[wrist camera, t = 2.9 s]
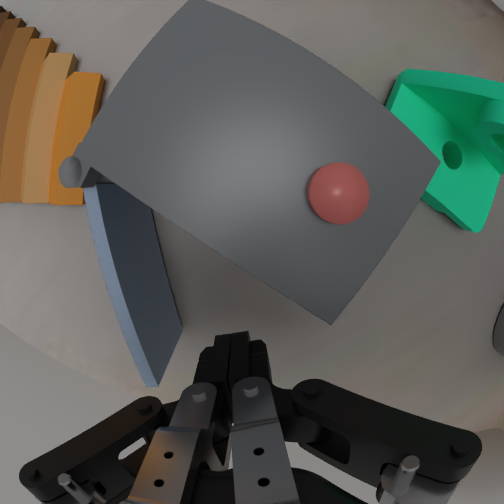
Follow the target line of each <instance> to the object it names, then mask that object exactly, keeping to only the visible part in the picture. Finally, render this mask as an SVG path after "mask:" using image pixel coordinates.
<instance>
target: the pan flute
mask: <svg viewBox="0 0 504 504" xmlns="http://www.w3.org/2000/svg"><path fill="white" fill-rule="evenodd" d="M14 18H15V16H14V15H13V14H12V13H11V11H9V12H6V10H5V9H4V8H3V7H2V6H0V203H3V202H22V203H24V204H28V203H50V204H53V205H83V204H86V203H85V197H84V192H83V189H84V188H80V187H78V188H66V187H64V186H63V185H62V184H61V182H60V180H59V168H60V165H61V163H62V162H63V160H64V159H66V158H67V157H70V156H72V155H73V153H74V151H75V149H76V147H77V146H78V144H79V143H81V142H82V141H83V139H84V137H85V135H86V133H87V132H88V130H89V128H90V126H91V125H92V123H93V121H94V119H95V118H96V116H97V114H98V109H99V104H100V99H101V94H102V90H103V85H104V81H105V80H104V78H103V76H102V74H100V73H88V72H75V68H76V65H77V61H78V60H77V58H76V57H75V55H74V53H54V51H55V48H56V44H55V42H54V41H53V39H52V38H38V36H39V32H38V30H37V29H36V28H35V27H25V25H26V23H25V22H24V21H23V20H22V18H17V19H14Z"/></svg>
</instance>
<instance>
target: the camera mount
mask: <svg viewBox="0 0 504 504" xmlns="http://www.w3.org/2000/svg"><path fill="white" fill-rule="evenodd" d="M385 107H386V108H387V109H388V110H389V111H390V112H392V113H393V114H394V115H395V116H396V117H397V118H398V119H399V120H400V121H402V122H403V123H404V124H405V125H406V126H407V127H408V128H409V129H410V130H411V131H412V132H413V133H414V134H415V135H416V136H417V137H418V138H419V139H420V140H421V141H422V142H423V143H424V144H425V145H426V146H427V147H428V148H429V149H430V150H431V151H432V152H433V153H434V154H435V156H436V157H437V158H438V159H439V160H440V161H441V163H440V165H439V167H438V168H437V170H436V172H435V174H434V176H433V178H432V179H431V181H430V183H429V185H428V186H427V188H426V190H425V192H424V193H423V195H422V197H421V199H422V200H424V201H425V202H426V203H428V204H429V205H430V206H431V207H433V208H434V209H435V210H436V211H438V212H444V213H445V214H446V215H447V216H448V217H450V218H451V219H452V220H453V221H454V222H455V223H457V224H458V225H459V226H460V227H461V228H462V229H465V230H468V231H472V232H475V233H478V232H480V231H481V230H482V229H483V227H484V225H485V222H486V219H487V216H488V214H489V211H490V208H491V205H492V202H493V199H494V196H495V193H496V190H497V186H498V183H499V179H500V176H501V174H502V173H504V83H501V82H496V81H492V80H487V79H483V78H478V77H472V76H466V75H460V74H454V73H446V72H438V71H428V70H417V69H406V70H405V71H403V72H402V73H400V74H399V75H398V77H397V79H396V82H395V84H394V86H393V89H392V91H391V94H390V96H389V98H388V101H387V103H386V106H385ZM442 151H443V154H444V160H443V156H442Z"/></svg>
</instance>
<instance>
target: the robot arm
mask: <svg viewBox="0 0 504 504" xmlns="http://www.w3.org/2000/svg"><path fill="white" fill-rule="evenodd" d="M493 343H494V347H495V349H496V350H497V351H498V352H499V353H500V354H502V355H503V356H504V306H503V308H502V310H501V312H500V314H499V317H498V320H497V323H496V326H495V330H494V337H493ZM232 423H234V426H232ZM142 437H143V438H144V440H145V441H146V444H145V445H143V446H142V447H140V448H139V449H137V450H136V451H134V452H133V453H131V454H130V455H128V456H127V457H126V458H124V459H121V460H119V459H118V456H119V453H120V452H121V451H122V450H124V449H125V448H127V447H128V446H130V445H131V444H133V443H134V442H135V441H137V440H139V439H140V438H142ZM284 441H287V442H298V444H299V445H300V447H302V448H303V449H304V450H306V451H308V452H309V453H311V454H313V455H315V456H316V457H318V458H320V459H322V460H323V461H325V462H327V463H328V464H330V465H332V466H334V467H336V468H338V469H340V470H342V471H343V472H345V473H347V474H349V475H351V476H353V477H355V478H357V479H359V480H361V481H363V482H365V483H368V484H369V485H372V486H374V487H376V488H377V490H376V499H377V501H378V502H379V504H447V502H448V500H449V499H450V497H451V495H452V494H453V492H454V491H455V490H456V488H457V487H458V486H459V485H460V483H461V482H462V481H463V479H464V478H465V477H466V475H467V474H468V472H469V471H470V470H471V468H472V467H473V465H474V464H475V462H476V461H477V459H478V458H479V456H480V454H481V451H482V443H481V440H480V439H479V437H478V436H477V435H476V434H475V433H473V432H471V431H468V430H464V429H460V428H456V427H453V426H449V425H446V424H442V423H439V422H435V421H432V420H429V419H426V418H423V417H419V416H416V415H413V414H410V413H407V412H404V411H401V410H398V409H396V408H393V407H390V406H387V405H384V404H382V403H379V402H376V401H374V400H371V399H368V398H366V397H363V396H361V395H358V394H355V393H353V392H350V391H348V390H345V389H343V388H341V387H338V386H336V385H333V384H331V383H329V382H326V381H324V380H320V379H308V380H305V381H302V382H300V383H298V384H297V385H296V386H295V387H294V388H293V390H291V389H282V388H279V387H276V386H275V385H273V384H272V376H271V369H270V363H269V358H268V353H267V347H266V344H265V343H264V342H263V341H262V340H261V339H260V340H254V341H250V336H249V332H248V331H244V332H237V333H232V334H224V335H216V336H215V341H214V346H212V347H206V348H205V349H204V350H203V351H202V352H201V353H200V357H199V362H198V365H197V369H196V373H195V377H194V381H193V385H190V386H189V387H187V388H186V389H185V390H184V391H183V392H182V394H181V397H180V399H179V400H178V401H175V402H171V403H167V404H163V405H162V403H161V401H160V400H159V399H158V398H156V397H152V396H146V397H142V398H139V399H137V400H135V401H134V402H132V403H130V404H129V405H127V406H126V407H124V408H122V409H121V410H119V411H118V412H116V413H114V414H113V415H111V416H110V417H108V418H106V419H105V420H103V421H101V422H100V423H98V424H96V425H95V426H93V427H91V428H90V429H88V430H86V431H85V432H83V433H81V434H80V435H78V436H76V437H74V438H72V439H71V440H69V441H67V442H66V443H64V444H62V445H60V446H58V447H57V448H55V449H53V450H51V451H49V452H47V453H45V454H43V455H42V456H40V457H38V458H36V459H34V460H32V461H30V462H28V463H27V464H25V465H24V466H23V467H22V469H21V470H20V473H19V479H20V482H21V483H22V484H23V486H25V487H26V488H27V489H28V490H29V491H30V492H31V493H32V494H33V495H34V496H35V497H36V498H37V499H38V500H39V501H40V502H41V503H42V504H368V503H366V502H364V501H362V500H360V499H358V498H357V497H355V496H353V495H351V494H349V493H348V492H346V491H344V490H342V489H341V488H339V487H337V486H336V485H334V484H332V483H331V482H329V481H328V480H326V479H325V478H323V477H321V476H319V475H317V474H315V473H313V472H310V471H307V470H303V469H299V468H292V467H291V466H290V462H289V458H288V454H287V450H286V446H285V442H284ZM231 447H232V460H233V468H232V469H228V467H229V460H230V454H231Z"/></svg>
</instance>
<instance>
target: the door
mask: <svg viewBox="0 0 504 504" xmlns="http://www.w3.org/2000/svg"><path fill="white" fill-rule="evenodd" d="M83 192H84V197H85V203H86V208H87V213H88V217H89V222H90V226H91V231H92V235H93V239H94V243H95V247H96V251H97V255H98V259H99V262H100V266H101V269H102V273H103V276H104V279H105V283H106V286H107V289H108V292H109V295H110V298H111V301H112V304H113V307H114V310H115V313H116V316H117V319H118V321H119V324H120V327H121V329H122V332H123V335H124V337H125V340H126V342H127V345H128V347H129V350H130V352H131V355H132V357H133V359H134V362H135V364H136V366H137V368H138V371H139V373H140V375H141V377H142V380H143V382H144V384H145V386H146V387H158V386H159V384H160V382H161V379H162V377H163V375H164V372H165V370H166V368H167V365H168V363H169V361H170V358H171V356H172V354H173V352H174V349H175V347H176V345H177V342H178V340H179V338H180V336H181V333H182V331H183V329H182V326H181V323H180V320H179V317H178V313H177V310H176V307H175V303H174V300H173V296H172V293H171V289H170V286H169V282H168V278H167V275H166V271H165V267H164V263H163V259H162V255H161V251H160V247H159V243H158V239H157V235H156V230H155V226H154V222H153V217H152V212H151V208H150V207H149V206H147V205H146V204H145V203H143V202H142V201H140V200H139V199H137V198H136V197H134V196H133V195H131V194H130V193H129V192H127V191H126V190H124V189H123V188H121V187H120V186H118V185H117V184H115V183H114V182H113V181H111V180H110V179H108V178H107V177H105V176H104V175H103V174H100V176H99V178H98V180H97V182H96V184H95V186H94V187H89V188H84V189H83Z"/></svg>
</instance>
